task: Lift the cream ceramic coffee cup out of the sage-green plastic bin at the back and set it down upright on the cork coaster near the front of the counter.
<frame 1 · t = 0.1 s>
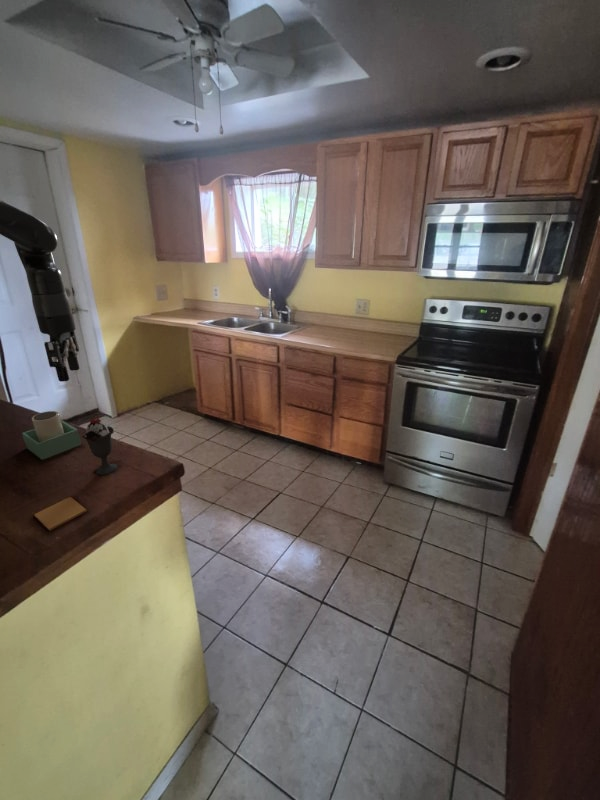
hand: (69, 375, 96), 19 cm above the table, tool pointing down, fingers open, 8 cm apart
sundae: (106, 469, 90), on the table
coffee cup: (54, 446, 99), point 1 cm above the table, touching bin
bin: (54, 448, 99), on the table
coaster: (61, 513, 75), on the table
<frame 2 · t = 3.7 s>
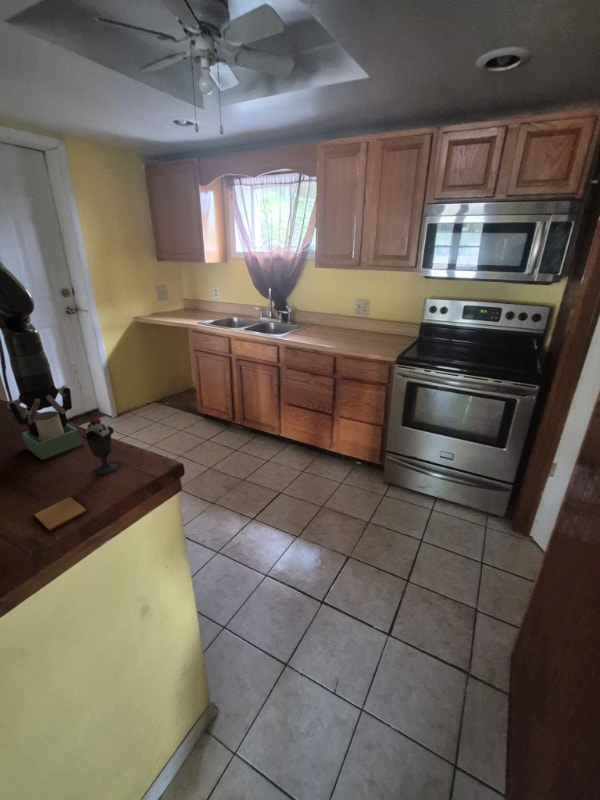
hand: (49, 430, 97), 5 cm above the table, tool pointing down, fingers closed on coffee cup, 6 cm apart
coffee cup: (54, 446, 99), point 1 cm above the table, touching bin, gripper
everything else where it was.
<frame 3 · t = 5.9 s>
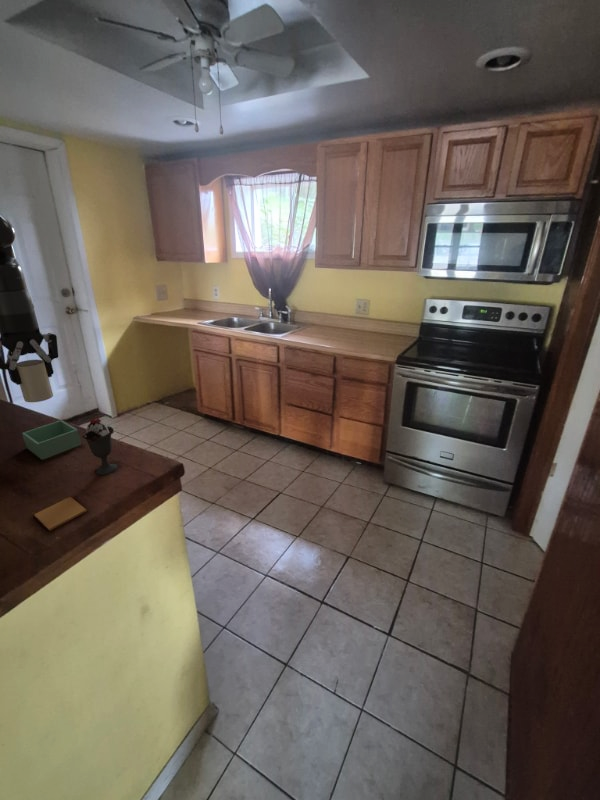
hand: (33, 379, 90), 20 cm above the table, tool pointing down, fingers closed on coffee cup, 6 cm apart
coffee cup: (39, 397, 92), point 15 cm above the table, touching gripper
everything else where it was.
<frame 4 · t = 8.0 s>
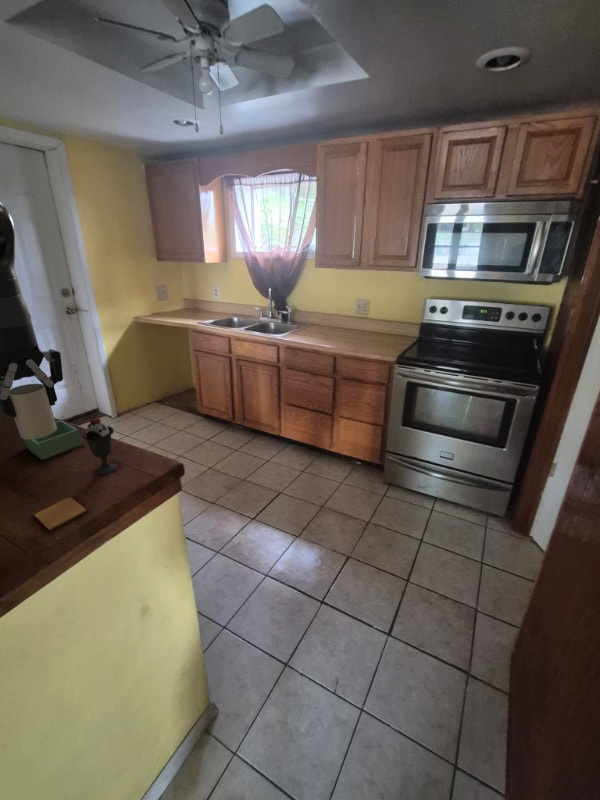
hand: (32, 410, 70), 22 cm above the table, tool pointing down, fingers closed on coffee cup, 6 cm apart
coffee cup: (39, 431, 72), point 17 cm above the table, touching gripper
everything else where it was.
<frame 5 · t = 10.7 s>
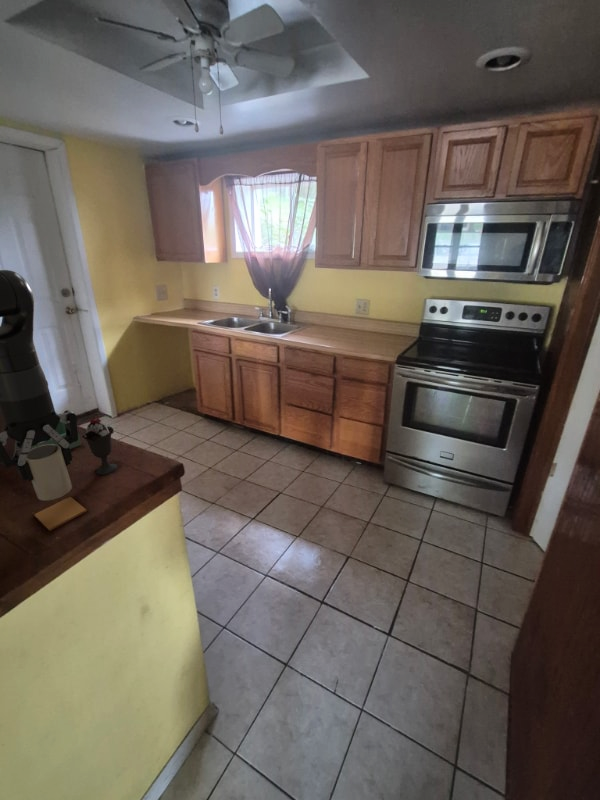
hand: (48, 471, 72), 10 cm above the table, tool pointing down, fingers closed on coffee cup, 6 cm apart
coffee cup: (54, 491, 73), point 6 cm above the table, touching gripper
everything else where it was.
when the fingers open (5 cm above the table, at t = 12.6 s): coffee cup stays where it is, resting on coaster.
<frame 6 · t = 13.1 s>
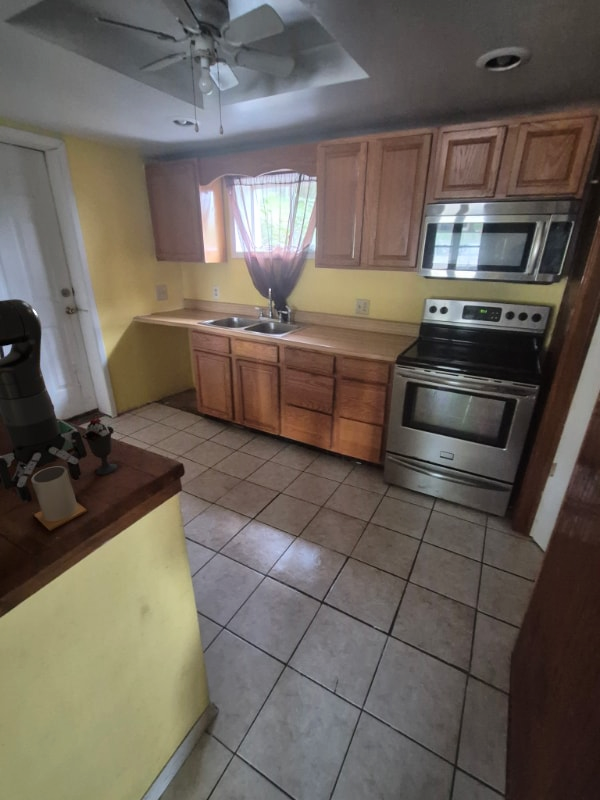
hand: (52, 488, 73), 6 cm above the table, tool pointing down, fingers open, 8 cm apart
coffee cup: (61, 511, 75), resting on coaster
everything else where it was.
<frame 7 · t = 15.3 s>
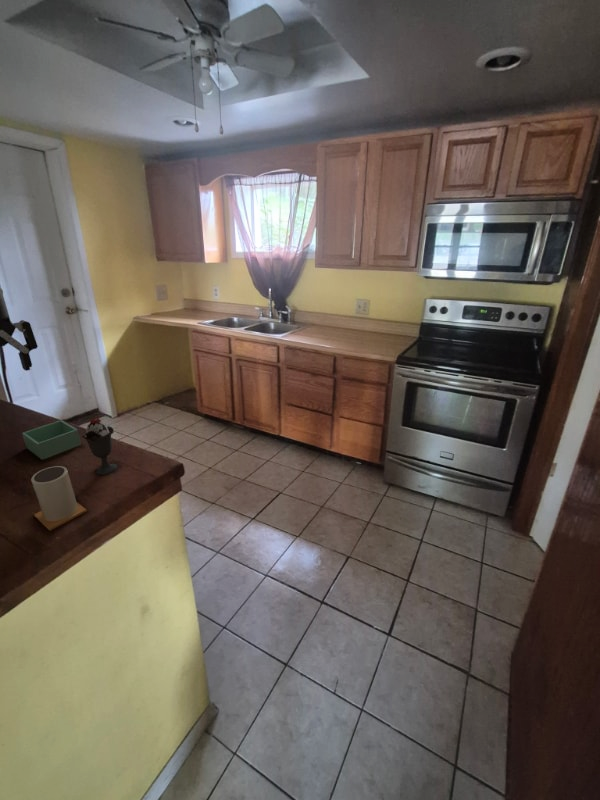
hand: (3, 374, 78), 25 cm above the table, tool pointing down, fingers open, 8 cm apart
nothing on the table moved.
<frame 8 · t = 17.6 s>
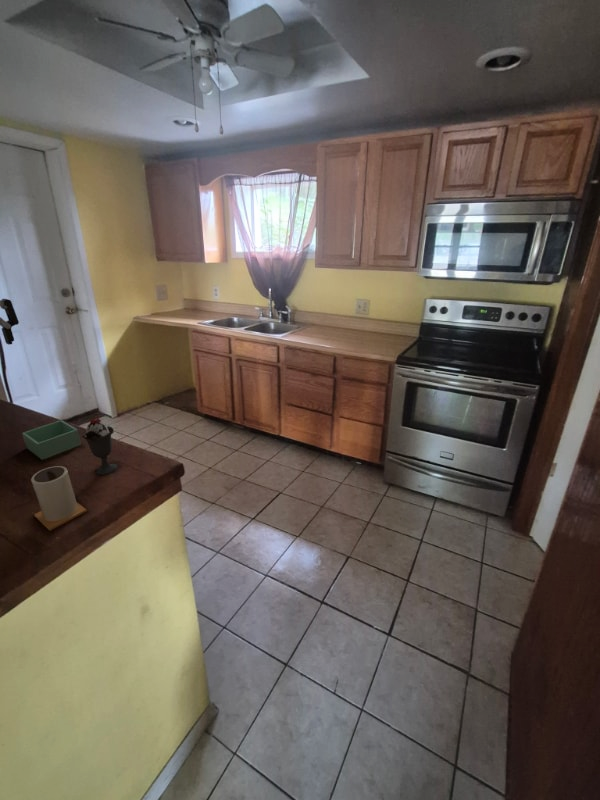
nothing on the table moved.
at the end: coffee cup 0.1 cm off-centre on the coaster, point 0.5 cm above the coaster's base; coffee cup tilted 0°; the gripper is holding nothing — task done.
